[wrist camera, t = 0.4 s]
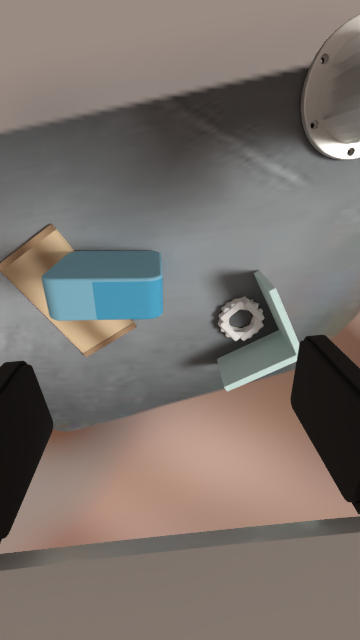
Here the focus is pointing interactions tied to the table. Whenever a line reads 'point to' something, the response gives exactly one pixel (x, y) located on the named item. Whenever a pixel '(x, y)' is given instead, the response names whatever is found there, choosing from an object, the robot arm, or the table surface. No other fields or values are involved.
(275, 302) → the mint corner bracket
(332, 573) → the robot arm
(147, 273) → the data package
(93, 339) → the wooden board
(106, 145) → the table surface
